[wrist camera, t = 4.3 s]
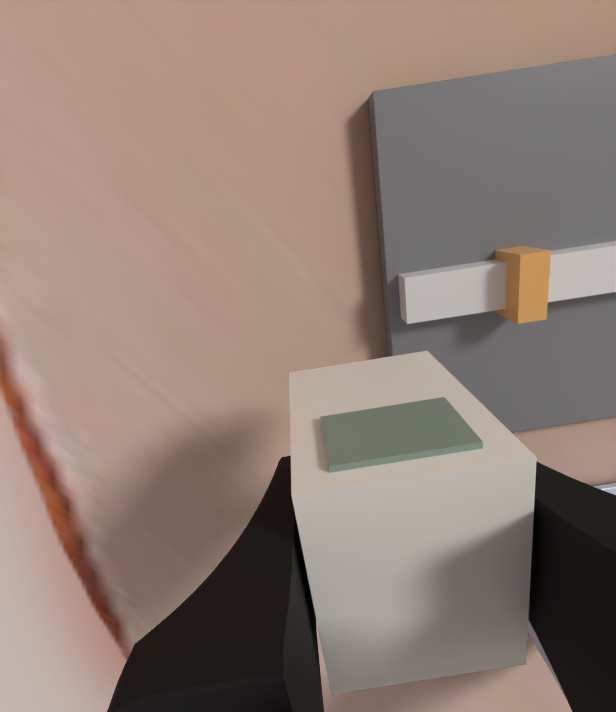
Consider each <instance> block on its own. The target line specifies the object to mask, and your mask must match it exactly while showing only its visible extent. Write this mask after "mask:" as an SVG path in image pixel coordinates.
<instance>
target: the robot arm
mask: <svg viewBox="0 0 616 712" xmlns="http://www.w3.org/2000/svg"><path fill="white" fill-rule="evenodd" d="M528 633H529V635H530V636H531V638H532V640H533V642H534V643H535V645H536V647H537V649H538V650H539V652H540V654H541V656H542V657H543V659H544V661H545V663H546V664H547V666H548V668H549V669H550V671H551V673H552V675H553V676H554V678H555V680H556V682H557V683H558V685H559V687H560V689H561V690H562V692H563V694H564V696H565V697H566V699H567V701H568V703H569V705H570V707H571V709H572V712H616V483H611V484H604V485H598V486H590V485H588V484H585V483H583V482H580V481H578V480H575V479H573V478H571V477H568V476H566V475H564V474H562V473H560V472H557V471H555V470H553V469H551V468H549V467H547V466H544V465H542V464H540V463H538V462H536V480H535V499H534V519H533V538H532V558H531V578H530V597H529V617H528ZM107 712H324V707H323V697H322V686H321V676H320V665H319V654H318V643H317V632H316V615H315V610H314V605H313V600H312V595H311V590H310V586H309V581H308V576H307V571H306V566H305V561H304V556H303V551H302V546H301V541H300V536H299V531H298V526H297V521H296V516H295V511H294V506H293V501H292V495H291V456H287V457H282V458H281V459H280V461H279V463H278V466H277V468H276V471H275V473H274V476H273V478H272V480H271V483H270V485H269V487H268V489H267V491H266V493H265V495H264V497H263V499H262V501H261V503H260V505H259V506H258V508H257V510H256V511H255V513H254V515H253V517H252V518H251V520H250V522H249V523H248V525H247V527H246V528H245V530H244V531H243V533H242V534H241V536H240V537H239V539H238V540H237V541H236V543H235V544H234V546H233V547H232V548H231V550H230V551H229V552H228V554H227V555H226V556H225V557H224V559H223V560H222V561H221V562H220V563H219V565H218V566H217V567H216V568H215V570H214V571H213V572H212V573H211V574H210V575H209V577H208V578H207V579H206V580H205V581H204V582H203V583H202V584H201V585H200V586H199V587H198V588H197V589H196V590H195V591H194V592H193V593H192V594H191V595H190V596H189V597H188V598H187V599H186V600H185V601H184V602H183V603H182V604H181V605H180V606H179V607H178V608H177V609H176V610H175V611H173V612H172V613H171V614H170V615H169V616H168V617H167V618H165V619H164V620H163V621H162V622H161V623H160V624H158V625H157V626H156V627H155V628H154V629H152V630H151V631H150V632H149V633H148V634H147V635H145V636H144V637H143V638H142V639H141V640H139V641H138V642H137V643H135V645H134V647H133V649H132V651H131V654H130V656H129V658H128V660H127V662H126V664H125V666H124V668H123V671H122V673H121V676H120V678H119V681H118V683H117V686H116V689H115V691H114V694H113V697H112V700H111V703H110V706H109V708H108V711H107Z"/></svg>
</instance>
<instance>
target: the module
mask: <svg viewBox="0 0 616 712" xmlns="http://www.w3.org/2000/svg"><path fill="white" fill-rule="evenodd" d="M289 388H290V442H291V495H292V501H293V506H294V511H295V516H296V521H297V526H298V531H299V536H300V541H301V546H302V551H303V556H304V561H305V566H306V571H307V576H308V581H309V586H310V590H311V595H312V600H313V605H314V610H315V615H316V620H317V625H318V630H319V635H320V640H321V645H322V650H323V655H324V660H325V665H326V670H327V675H328V680H329V685H330V690H331V695H333V694H340V693H346V692H352V691H359V690H365V689H371V688H378V687H384V686H390V685H397V684H403V683H409V682H416V681H422V680H429V679H435V678H441V677H448V676H454V675H460V674H467V673H473V672H479V671H486V670H492V669H498V668H505V667H511V666H517V665H524V664H526V656H527V637H528V617H529V597H530V578H531V558H532V538H533V519H534V499H535V480H536V460H537V457H536V456H535V455H534V454H533V453H532V452H531V451H530V450H529V449H528V448H527V447H526V446H525V445H524V444H523V443H522V442H521V441H520V440H519V439H518V438H516V437H515V436H514V435H513V434H512V433H511V432H510V431H509V430H508V429H507V428H506V427H505V426H504V425H503V424H502V423H501V422H500V421H499V420H498V419H497V418H496V417H495V416H494V415H493V414H492V413H491V412H490V411H489V410H488V409H487V408H486V407H485V406H484V405H483V404H482V403H481V402H480V401H479V400H477V399H476V398H475V397H474V396H473V395H472V394H471V393H470V392H469V391H468V390H467V389H466V388H465V387H464V386H463V385H462V384H461V383H460V382H459V381H458V380H457V379H456V378H455V377H454V376H453V375H452V374H451V373H450V372H449V371H448V370H447V369H446V368H445V367H444V366H443V365H442V364H441V363H439V362H438V361H437V360H436V359H435V358H434V357H433V356H432V355H431V354H430V353H429V352H428V351H422V352H416V353H409V354H403V355H397V356H391V357H384V358H378V359H372V360H366V361H359V362H353V363H347V364H340V365H334V366H328V367H322V368H315V369H309V370H303V371H297V372H290V373H289Z"/></svg>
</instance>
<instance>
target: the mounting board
mask: <svg viewBox="0 0 616 712" xmlns="http://www.w3.org/2000/svg"><path fill="white" fill-rule="evenodd" d="M368 104H369V117H370V129H371V142H372V155H373V168H374V180H375V193H376V206H377V219H378V231H379V244H380V257H381V270H382V282H383V295H384V308H385V321H386V334H387V346H388V357H391V356H397V355H403V354H409V353H416V352H422V351H428V352H429V353H430V354H431V355H432V356H433V357H434V358H435V359H436V360H437V361H438V362H439V363H441V364H442V365H443V366H444V367H445V368H446V369H447V370H448V371H449V372H450V373H451V374H452V375H453V376H454V377H455V378H456V379H457V380H458V381H459V382H460V383H461V384H462V385H463V386H464V387H465V388H466V389H467V390H468V391H469V392H470V393H471V394H472V395H473V396H474V397H475V398H476V399H477V400H479V401H480V402H481V403H482V404H483V405H484V406H485V407H486V408H487V409H488V410H489V411H490V412H491V413H492V414H493V415H494V416H495V417H496V418H497V419H498V420H499V421H500V422H501V423H502V424H503V425H504V426H505V427H506V428H507V429H508V430H509V431H510V432H511V433H512V432H518V431H525V430H531V429H538V428H544V427H551V426H557V425H564V424H570V423H576V422H583V421H589V420H596V419H602V418H609V417H615V416H616V54H615V55H609V56H602V57H595V58H589V59H582V60H576V61H569V62H563V63H556V64H549V65H543V66H536V67H530V68H523V69H517V70H510V71H504V72H497V73H490V74H484V75H477V76H471V77H464V78H458V79H451V80H444V81H438V82H431V83H425V84H418V85H412V86H405V87H399V88H392V89H385V90H379V91H373V92H372V94H371V95H370V96H369V98H368Z"/></svg>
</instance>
